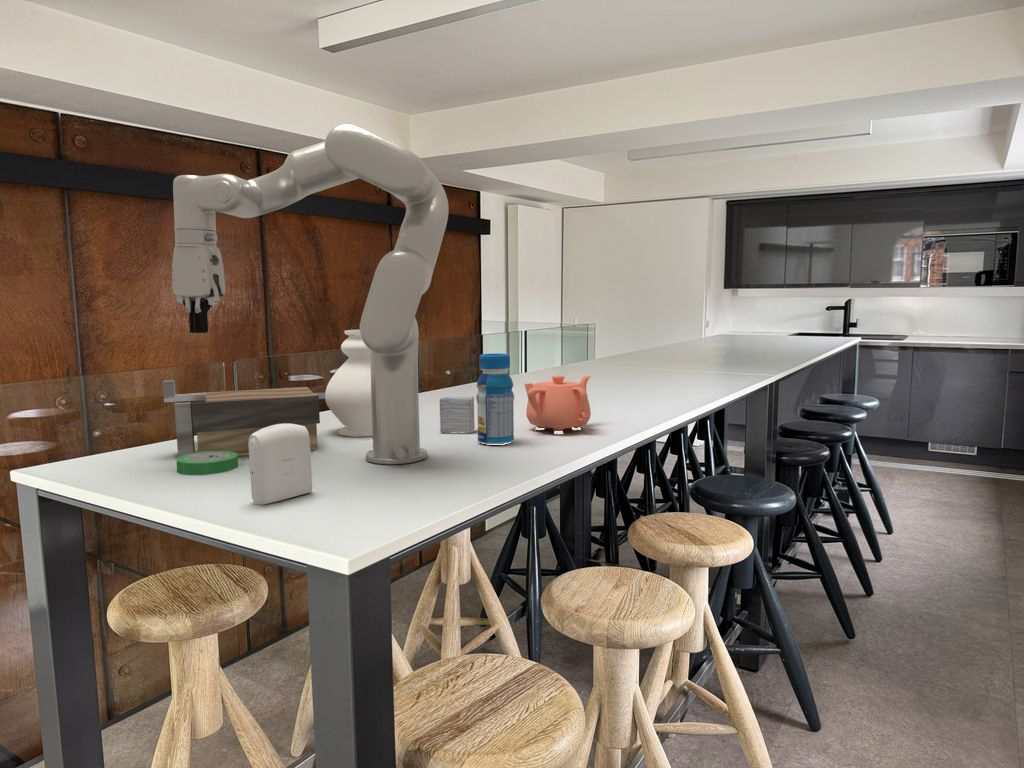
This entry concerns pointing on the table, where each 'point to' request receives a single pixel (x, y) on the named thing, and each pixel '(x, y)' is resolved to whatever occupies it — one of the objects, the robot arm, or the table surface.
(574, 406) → the teapot
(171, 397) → the brushed metal corner piece
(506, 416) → the beverage bottle
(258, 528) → the table surface
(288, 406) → the lid
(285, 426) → the photo printer
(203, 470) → the tape roll
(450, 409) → the medicine box
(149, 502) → the table surface
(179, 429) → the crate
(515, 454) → the table surface
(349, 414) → the decorative vase
